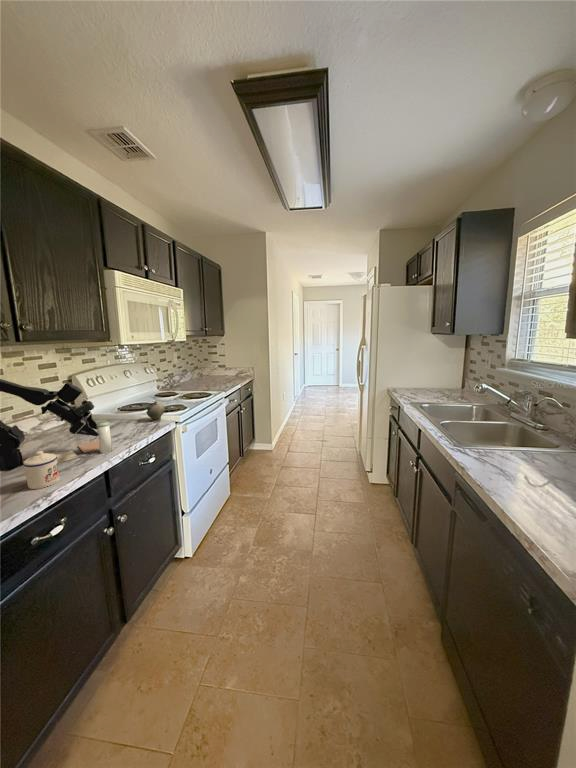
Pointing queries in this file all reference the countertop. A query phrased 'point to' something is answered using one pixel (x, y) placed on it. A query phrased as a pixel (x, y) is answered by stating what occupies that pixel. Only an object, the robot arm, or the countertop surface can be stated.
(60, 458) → the mat
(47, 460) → the teacup with lid
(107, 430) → the spice jar
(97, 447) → the mat
